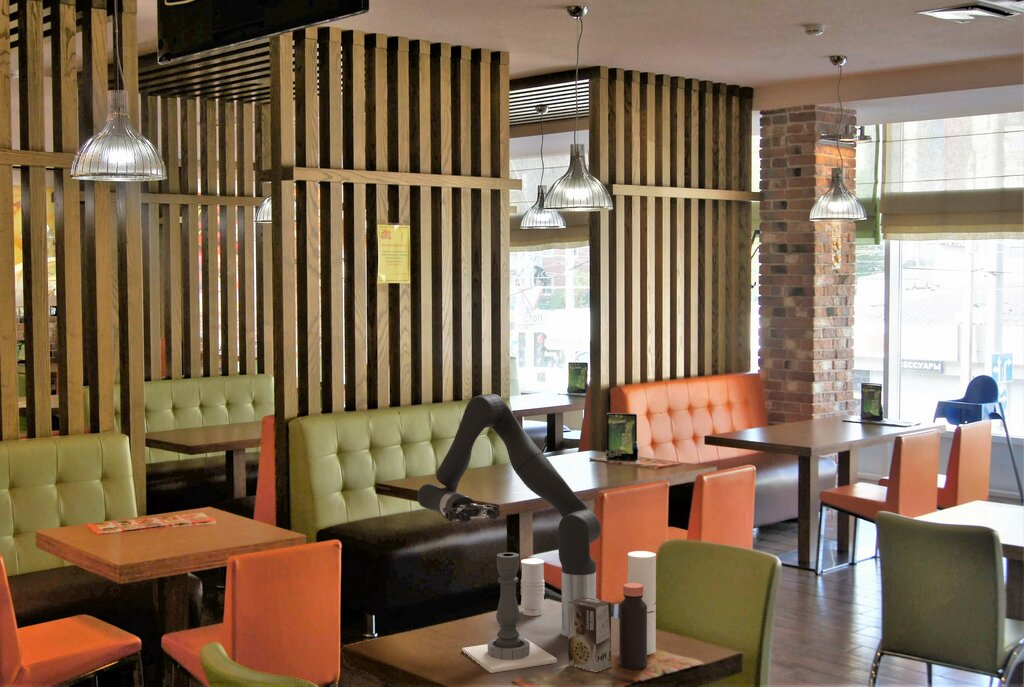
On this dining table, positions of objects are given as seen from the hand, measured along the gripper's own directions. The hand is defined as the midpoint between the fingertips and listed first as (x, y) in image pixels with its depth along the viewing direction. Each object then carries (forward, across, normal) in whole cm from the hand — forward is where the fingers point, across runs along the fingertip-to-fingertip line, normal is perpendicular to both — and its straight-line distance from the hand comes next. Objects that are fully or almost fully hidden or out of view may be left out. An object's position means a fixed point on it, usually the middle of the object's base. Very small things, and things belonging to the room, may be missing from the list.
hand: (480, 516), depth 298 cm
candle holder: (+14, +1, +32) cm, 36 cm away
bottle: (+34, +26, +34) cm, 54 cm away
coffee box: (+30, +16, +34) cm, 48 cm away
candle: (-18, +24, +33) cm, 45 cm away
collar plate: (+15, +1, +33) cm, 36 cm away
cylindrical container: (+25, +34, +34) cm, 54 cm away
